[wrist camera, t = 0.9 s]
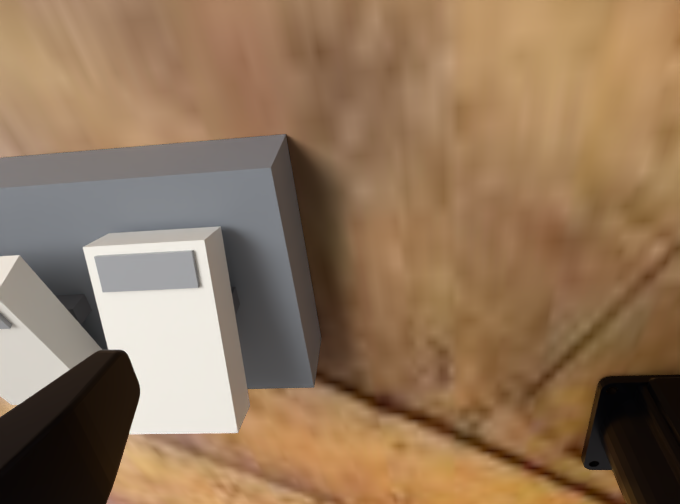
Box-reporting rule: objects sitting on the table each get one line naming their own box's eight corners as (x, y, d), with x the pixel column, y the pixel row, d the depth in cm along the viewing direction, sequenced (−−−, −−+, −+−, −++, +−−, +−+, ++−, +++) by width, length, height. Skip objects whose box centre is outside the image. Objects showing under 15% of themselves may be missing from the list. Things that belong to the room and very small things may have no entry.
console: (321, 341, 24) (312, 407, 21) (-59, 354, 27) (-121, 415, 24) (286, 134, 19) (265, 179, 16) (-189, 173, 21) (-292, 220, 18)
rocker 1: (117, 366, 21) (102, 406, 20) (29, 369, 22) (9, 408, 21) (19, 254, 16) (-8, 299, 15) (-93, 261, 17) (-128, 305, 16)
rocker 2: (250, 405, 19) (236, 435, 18) (149, 407, 20) (127, 436, 18) (220, 226, 17) (202, 241, 16) (109, 233, 18) (79, 248, 16)
